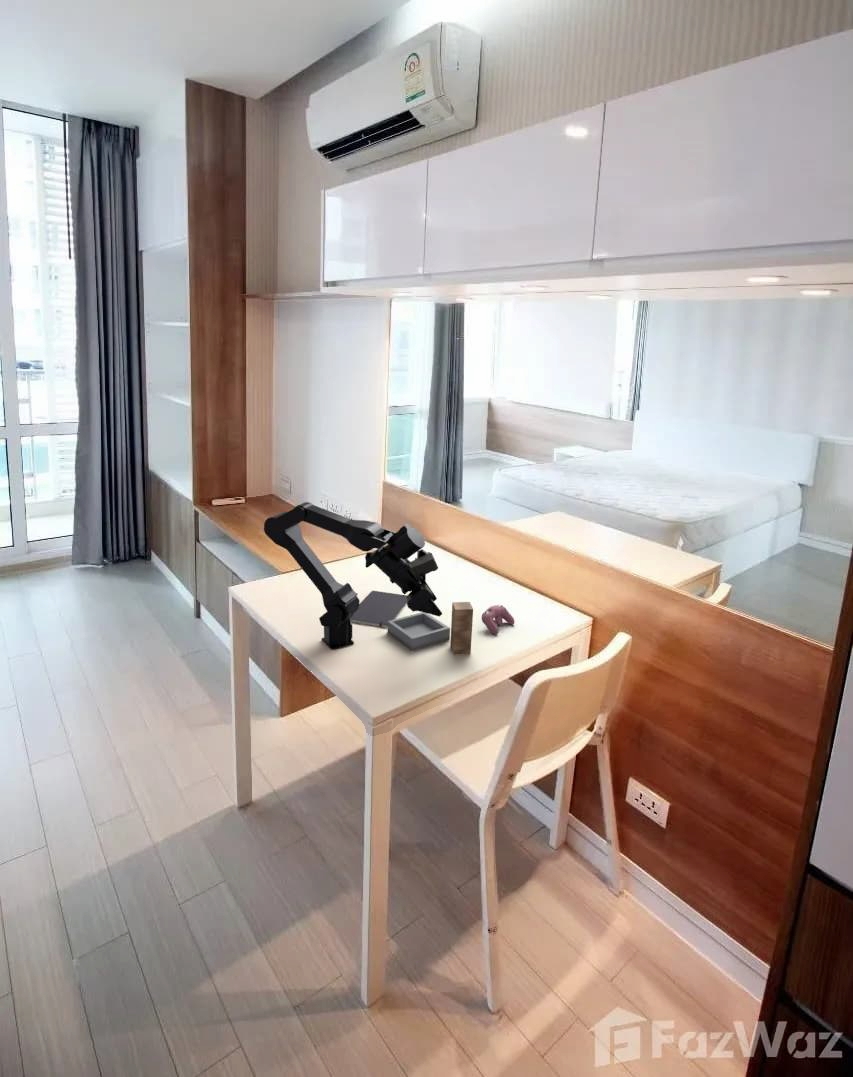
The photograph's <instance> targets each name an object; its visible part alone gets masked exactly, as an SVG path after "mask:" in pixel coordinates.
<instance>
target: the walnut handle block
mask: <svg viewBox="0 0 853 1077" xmlns="http://www.w3.org/2000/svg"><path fill="white" fill-rule="evenodd" d="M451 604H452V605H451V607H452V608H451V623H450V626H451V627H450V640H449V641H450V642H449V643H450V644H449V645H450V650H451V653H452V655H456V654H457V655H471V653H472V651H471V650H472V638H473V636H472V634H473V618H474V607H473V605H472V604H471V602H470V601H453V602H452V603H451Z"/></svg>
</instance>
